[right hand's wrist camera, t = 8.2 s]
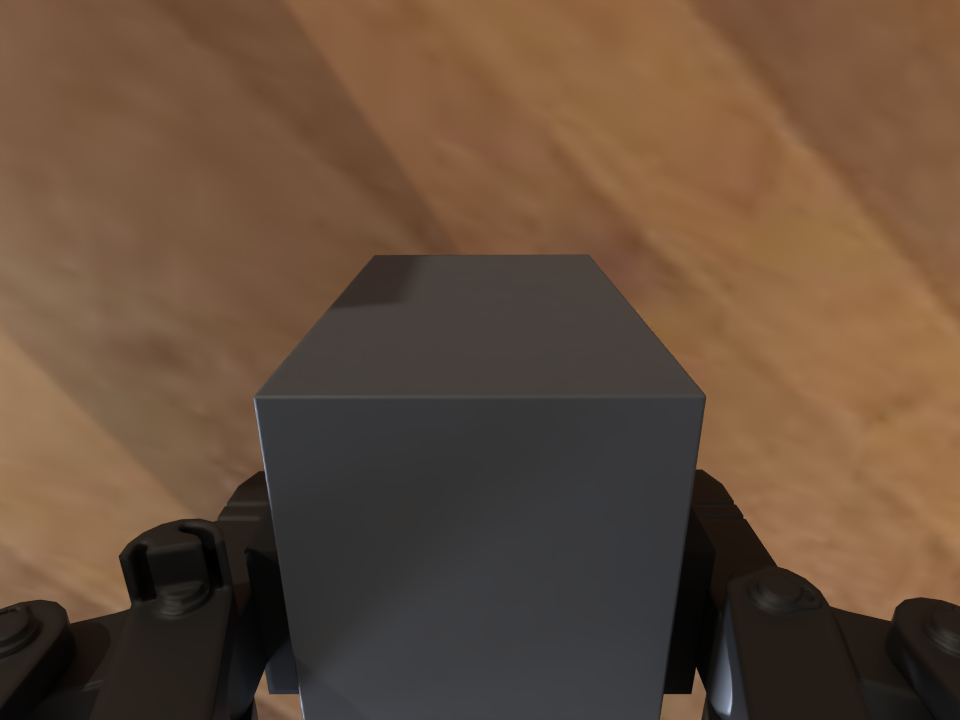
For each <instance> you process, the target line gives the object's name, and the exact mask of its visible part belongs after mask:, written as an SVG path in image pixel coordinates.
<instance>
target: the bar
mask: <svg viewBox="0 0 960 720" xmlns="http://www.w3.org/2000/svg"><path fill="white" fill-rule="evenodd" d="M705 401H706V396H705V394H704V393H703V391H702V390H701V389H700V388H699V387H698V385H697V384H696V383H695V382H694V381H693V379H692V378H691V377H690V376H689V375H688V373H687V372H686V371H685V370H684V369H683V367H682V366H681V365H680V364H679V363H678V361H677V360H676V359H675V358H674V357H673V355H672V354H671V353H670V352H669V351H668V349H667V348H666V347H665V346H664V345H663V343H662V342H661V341H660V340H659V339H658V337H657V336H656V335H655V334H654V333H653V331H652V330H651V329H650V328H649V327H648V325H647V324H646V323H645V322H644V321H643V319H642V318H641V317H640V316H639V315H638V313H637V312H636V311H635V310H634V308H633V307H632V306H631V305H630V304H629V302H628V301H627V300H626V299H625V298H624V296H623V295H622V294H621V293H620V292H619V290H618V289H617V288H616V287H615V286H614V284H613V283H612V282H611V281H610V280H609V278H608V277H607V276H606V275H605V274H604V272H603V271H602V270H601V269H600V268H599V266H598V265H597V264H596V263H595V262H594V260H593V259H592V258H591V257H590V256H589V255H375V256H373V258H372V259H371V260H370V261H369V262H368V264H367V265H366V266H365V267H364V268H363V269H362V271H361V272H360V273H359V274H358V275H357V276H356V278H355V279H354V280H353V281H352V282H351V283H350V285H349V286H348V287H347V288H346V289H345V290H344V292H343V293H342V294H341V295H340V296H339V297H338V299H337V300H336V301H335V302H334V303H333V304H332V306H331V307H330V308H329V309H328V310H327V311H326V313H325V314H324V315H323V316H322V317H321V318H320V320H319V321H318V322H317V323H316V324H315V326H314V327H313V328H312V329H311V330H310V331H309V333H308V334H307V335H306V336H305V337H304V338H303V340H302V341H301V342H300V343H299V344H298V345H297V347H296V348H295V349H294V350H293V351H292V352H291V354H290V355H289V356H288V357H287V358H286V359H285V361H284V362H283V363H282V364H281V365H280V366H279V368H278V369H277V370H276V371H275V372H274V373H273V375H272V376H271V377H270V378H269V379H268V380H267V382H266V383H265V384H264V385H263V386H262V388H261V389H260V390H259V391H258V392H257V393H256V395H255V396H254V404H255V411H256V417H257V424H258V430H259V437H260V443H261V450H262V456H263V462H264V469H265V475H266V482H267V488H268V495H269V501H270V508H271V514H272V521H273V527H274V534H275V540H276V547H277V553H278V560H279V566H280V572H281V579H282V585H283V592H284V598H285V605H286V611H287V618H288V624H289V631H290V637H291V644H292V650H293V657H294V663H295V669H296V676H297V682H298V689H299V695H300V702H301V708H302V715H303V720H660V715H661V708H662V701H663V694H664V687H665V680H666V673H667V666H668V659H669V652H670V645H671V638H672V631H673V624H674V617H675V610H676V603H677V596H678V589H679V583H680V576H681V569H682V562H683V555H684V548H685V541H686V534H687V527H688V520H689V513H690V506H691V499H692V492H693V485H694V478H695V471H696V464H697V457H698V450H699V443H700V436H701V429H702V422H703V415H704V408H705Z"/></svg>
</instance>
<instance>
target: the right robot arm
mask: <svg viewBox="0 0 960 720" xmlns="http://www.w3.org/2000/svg"><path fill="white" fill-rule="evenodd" d="M119 560H120V563H121V567H122V571H123V574H124V578H125V582H126V585H127V589H128V593H129V597H130V600H131V604H132V605H131V608H130V609H128V610H125V611H121V612H118V613H115V614H110V615H106V616H102V617H97V618H93V619H88V620H84V621H80V622H75V623H71V624H70V622H69V619H68V616H67V613H66V610H65V609H64V608H63V607H62V606H61V605H59V604H58V603H57V602H52V601H46V600H35V601H28V602H20V603H17V604H14V605H11V606H8V607H5V608H3V609H0V720H258V716H257V710H256V704H255V698H254V695H255V692H256V690H257V687H258V684H259V682H260V679H261V677H262V674H263V672H264V669H265V673H266V678H267V684H268V690H269V694H299V689H298V682H297V676H296V669H295V663H294V657H293V650H292V644H291V637H290V631H289V624H288V618H287V611H286V605H285V598H284V592H283V585H282V579H281V572H280V566H279V560H278V553H277V547H276V540H275V534H274V527H273V521H272V514H271V508H270V501H269V495H268V488H267V482H266V475H265V471H259V472H257V473H256V474H255V475H253V476H252V477H251V478H249V479H248V480H246V481H245V482H244V483H242V484H241V485H239V486H238V488H237V489H236V491H235V492H234V494H233V495H232V497H231V498H230V500H229V501H228V503H227V507H224V509H223V510H222V512H221V513H220V515H219V516H218V521H215V522H211V521H207V520H203V519H181V520H177V521H173V522H169V523H165V524H161V525H159V526H157V527H155V528H152V529H150V530H148V531H146V532H143V533H142V534H141V535H139V536H138V537H137V538H135V539H134V540H132V541H131V542H130V543H128V544H127V546H126V547H125V548H124V550H123V551H122V552H121V554H120V555H119ZM696 668H697V670H698V673H699V675H700V678H701V680H702V683H703V685H704V688H705V690H706V698H705V704H704V709H703V714H702V719H701V720H960V606H957V605H954V604H952V603H948V602H945V601H943V600H937V599H929V598H922V597H920V598H913V599H907V600H904V601H903V602H902V603H900V604H899V605H898V606H897V607H896V609H895V612H894V615H893V618H892V621H887V620H883V619H878V618H874V617H870V616H865V615H861V614H856V613H852V612H848V611H844V610H841V609H837V608H834V607H831V606H829V604H828V602H827V601H826V599H825V598H824V596H823V595H822V593H821V592H820V590H818V589H817V588H816V587H815V586H814V585H812V584H811V583H810V582H809V581H808V580H806V579H805V578H803V577H801V576H799V575H797V574H795V573H793V572H791V571H789V570H787V569H784V568H780V567H778V566H777V565H776V563H775V562H774V560H773V559H772V557H771V556H770V554H769V553H768V551H767V550H766V549H765V547H764V546H763V544H762V543H761V541H760V540H759V538H758V537H757V535H756V534H755V532H754V531H753V529H752V528H751V526H750V525H749V523H748V522H747V520H746V519H743V514H742V513H741V511H740V510H739V508H738V507H737V505H734V501H733V499H732V498H731V496H730V495H729V493H728V492H727V490H726V489H725V488H724V486H723V485H722V484H721V483H720V482H718V481H717V480H716V479H714V478H713V477H712V476H710V475H709V474H707V473H706V472H705V471H703V470H696V471H695V478H694V485H693V492H692V499H691V506H690V513H689V520H688V527H687V534H686V541H685V548H684V555H683V562H682V569H681V576H680V583H679V589H678V596H677V603H676V610H675V617H674V624H673V631H672V638H671V645H670V652H669V659H668V666H667V673H666V680H665V687H664V694H691V693H692V687H693V681H694V676H695V670H696Z"/></svg>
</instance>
